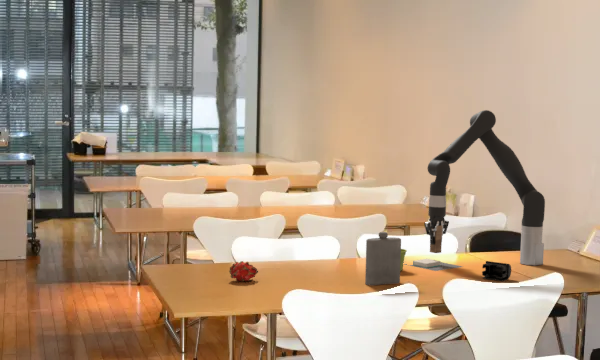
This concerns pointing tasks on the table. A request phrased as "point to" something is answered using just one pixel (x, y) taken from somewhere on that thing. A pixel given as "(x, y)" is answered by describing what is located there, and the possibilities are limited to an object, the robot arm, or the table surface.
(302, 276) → the table surface
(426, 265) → the tile
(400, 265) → the plant pot
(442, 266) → the mat
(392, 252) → the flask
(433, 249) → the walnut stick
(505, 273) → the end cap
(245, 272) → the dragon fruit
